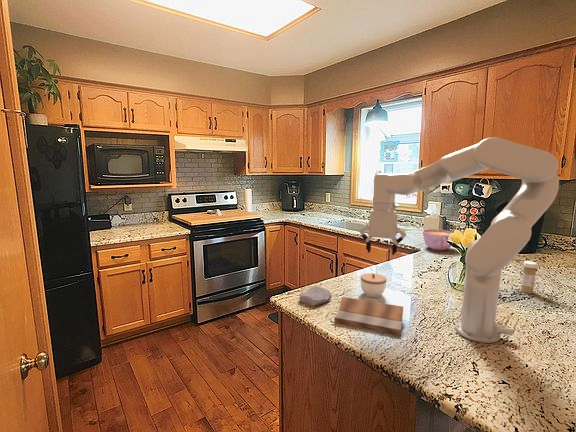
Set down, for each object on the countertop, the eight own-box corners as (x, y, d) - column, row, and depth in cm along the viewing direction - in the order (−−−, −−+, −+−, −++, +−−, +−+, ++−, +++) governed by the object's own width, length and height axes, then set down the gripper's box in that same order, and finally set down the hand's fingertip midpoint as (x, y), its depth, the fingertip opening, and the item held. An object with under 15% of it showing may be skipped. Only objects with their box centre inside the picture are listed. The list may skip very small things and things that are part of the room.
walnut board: (401, 327, 106) (401, 321, 105) (400, 335, 100) (400, 330, 100) (338, 315, 114) (338, 310, 114) (334, 322, 109) (334, 317, 108)
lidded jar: (387, 300, 127) (388, 278, 125) (360, 298, 129) (361, 277, 128) (384, 290, 137) (385, 270, 136) (359, 288, 139) (360, 268, 138)
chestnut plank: (403, 310, 111) (403, 306, 110) (401, 324, 107) (401, 321, 106) (342, 300, 120) (342, 296, 119) (339, 313, 116) (338, 309, 114)
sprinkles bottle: (527, 289, 138) (531, 260, 136) (536, 294, 133) (540, 263, 131) (517, 290, 138) (521, 260, 136) (525, 294, 133) (529, 264, 131)
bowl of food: (452, 254, 194) (454, 236, 192) (418, 250, 205) (419, 233, 203) (455, 247, 210) (457, 231, 209) (424, 243, 221) (425, 228, 219)
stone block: (332, 302, 130) (313, 292, 136) (334, 292, 128) (315, 282, 134) (316, 313, 121) (297, 302, 127) (318, 303, 119) (298, 291, 125)
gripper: (409, 207, 114) (406, 253, 116) (361, 204, 120) (359, 248, 123) (408, 209, 107) (405, 258, 110) (357, 207, 113) (356, 253, 116)
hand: (381, 252), depth 116 cm, fingers open, 8 cm apart
